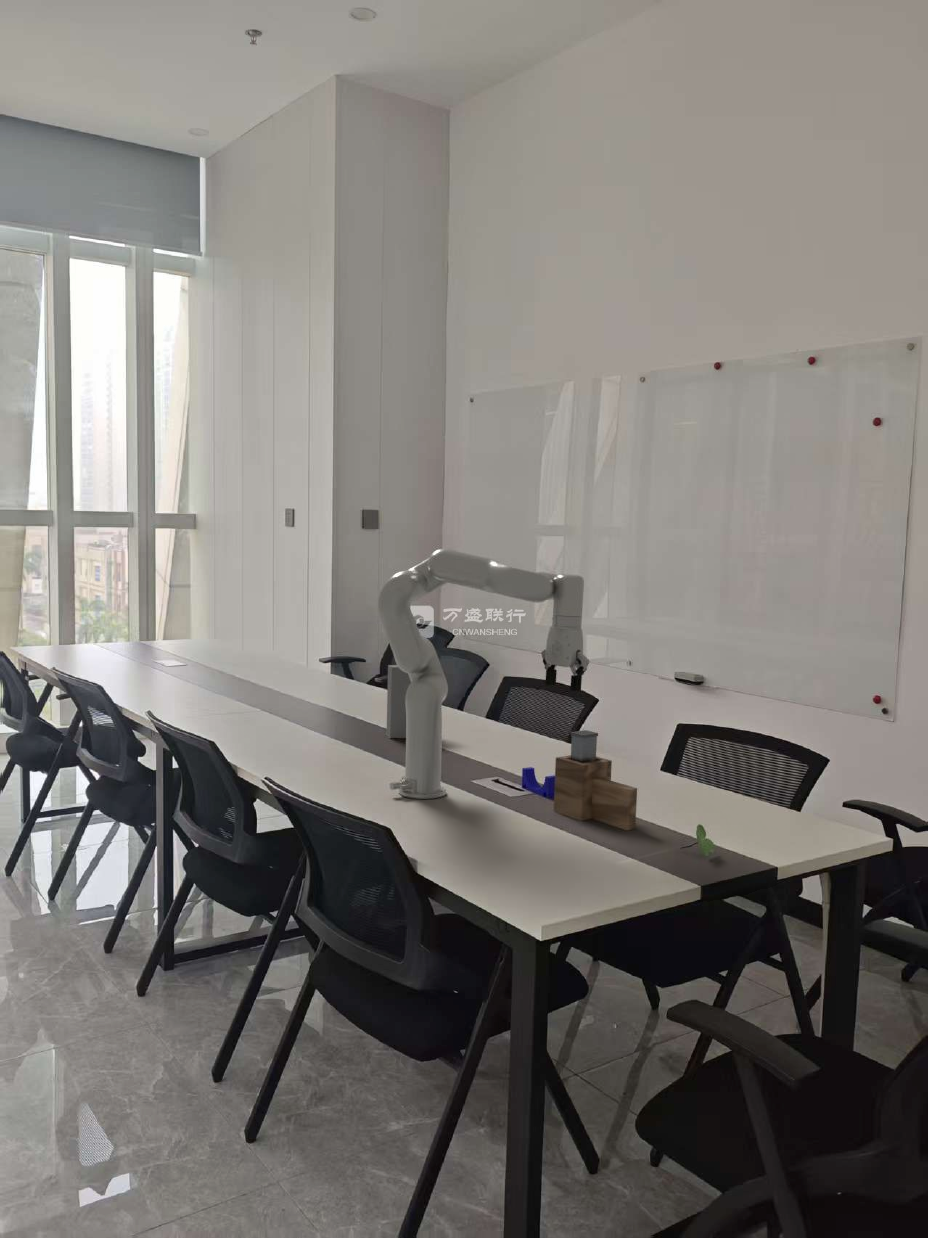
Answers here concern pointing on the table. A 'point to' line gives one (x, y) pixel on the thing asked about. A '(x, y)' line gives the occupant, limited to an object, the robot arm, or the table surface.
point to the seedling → (703, 841)
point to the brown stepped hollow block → (593, 793)
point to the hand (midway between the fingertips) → (562, 687)
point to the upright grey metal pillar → (583, 746)
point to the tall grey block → (396, 702)
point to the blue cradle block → (533, 786)
